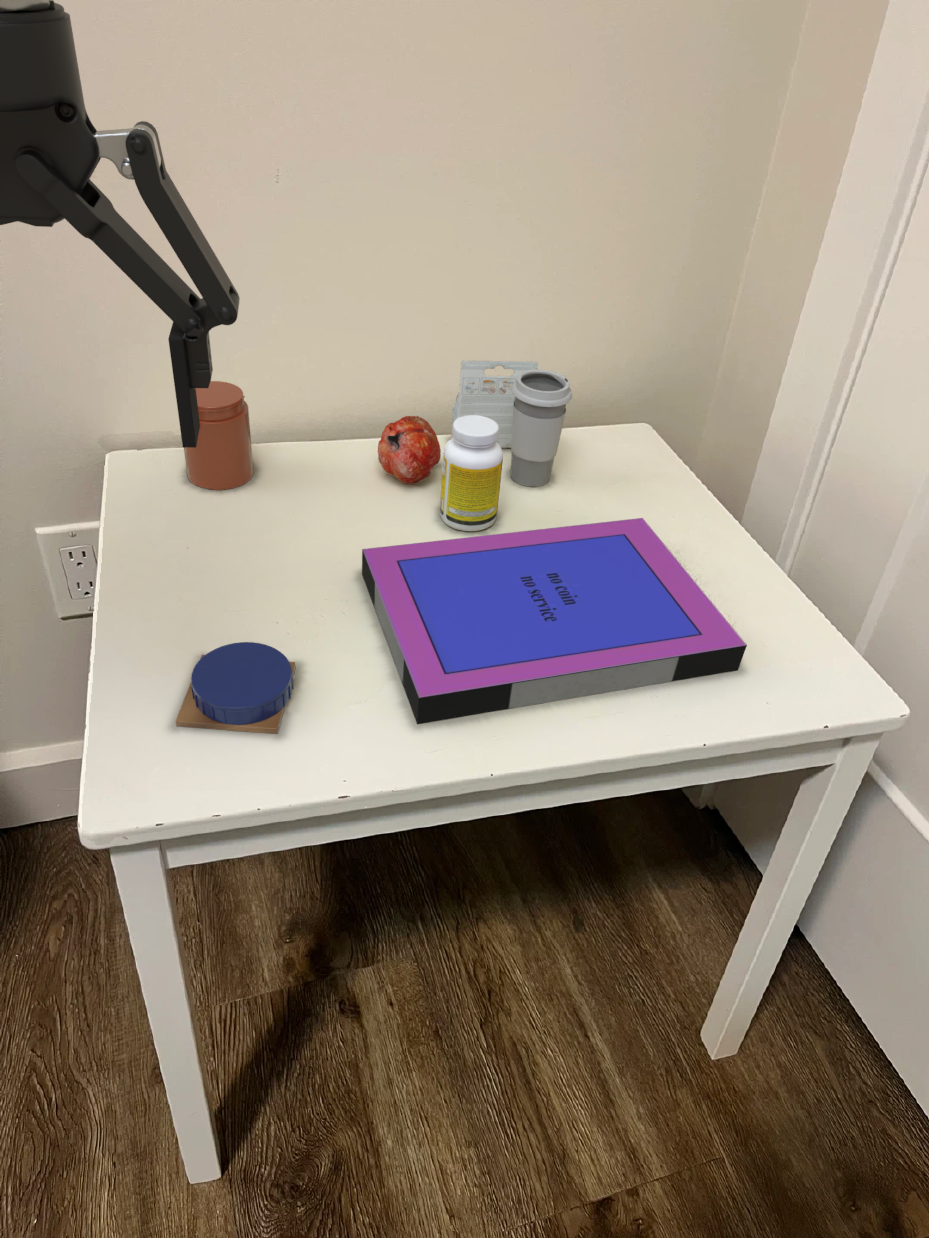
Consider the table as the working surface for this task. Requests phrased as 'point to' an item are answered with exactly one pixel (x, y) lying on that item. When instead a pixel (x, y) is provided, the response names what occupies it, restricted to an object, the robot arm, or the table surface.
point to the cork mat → (196, 719)
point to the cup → (537, 424)
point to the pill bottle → (471, 474)
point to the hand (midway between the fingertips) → (70, 437)
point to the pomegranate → (409, 449)
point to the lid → (242, 683)
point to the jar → (221, 439)
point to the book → (542, 617)
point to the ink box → (489, 394)
